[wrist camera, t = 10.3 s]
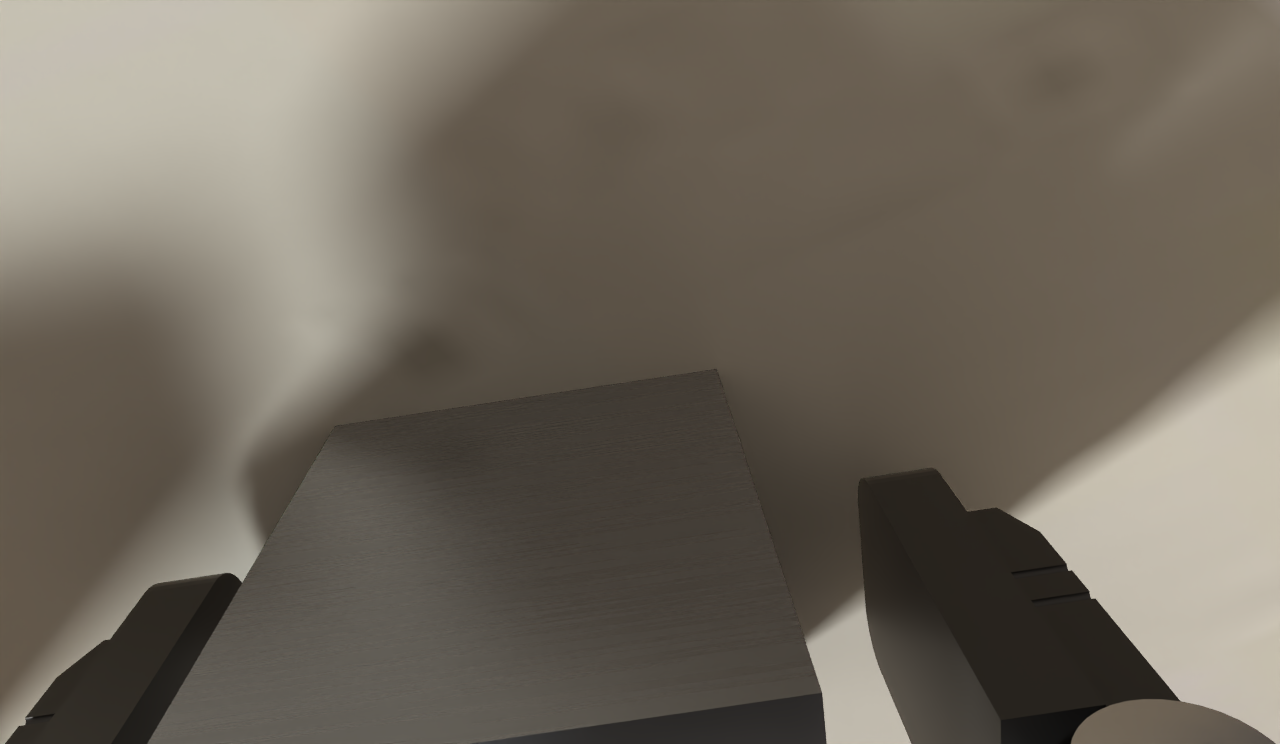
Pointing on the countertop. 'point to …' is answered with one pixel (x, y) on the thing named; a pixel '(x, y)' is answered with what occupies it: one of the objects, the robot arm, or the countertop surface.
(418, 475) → the grey cube with slot
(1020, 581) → the robot arm
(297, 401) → the countertop surface
